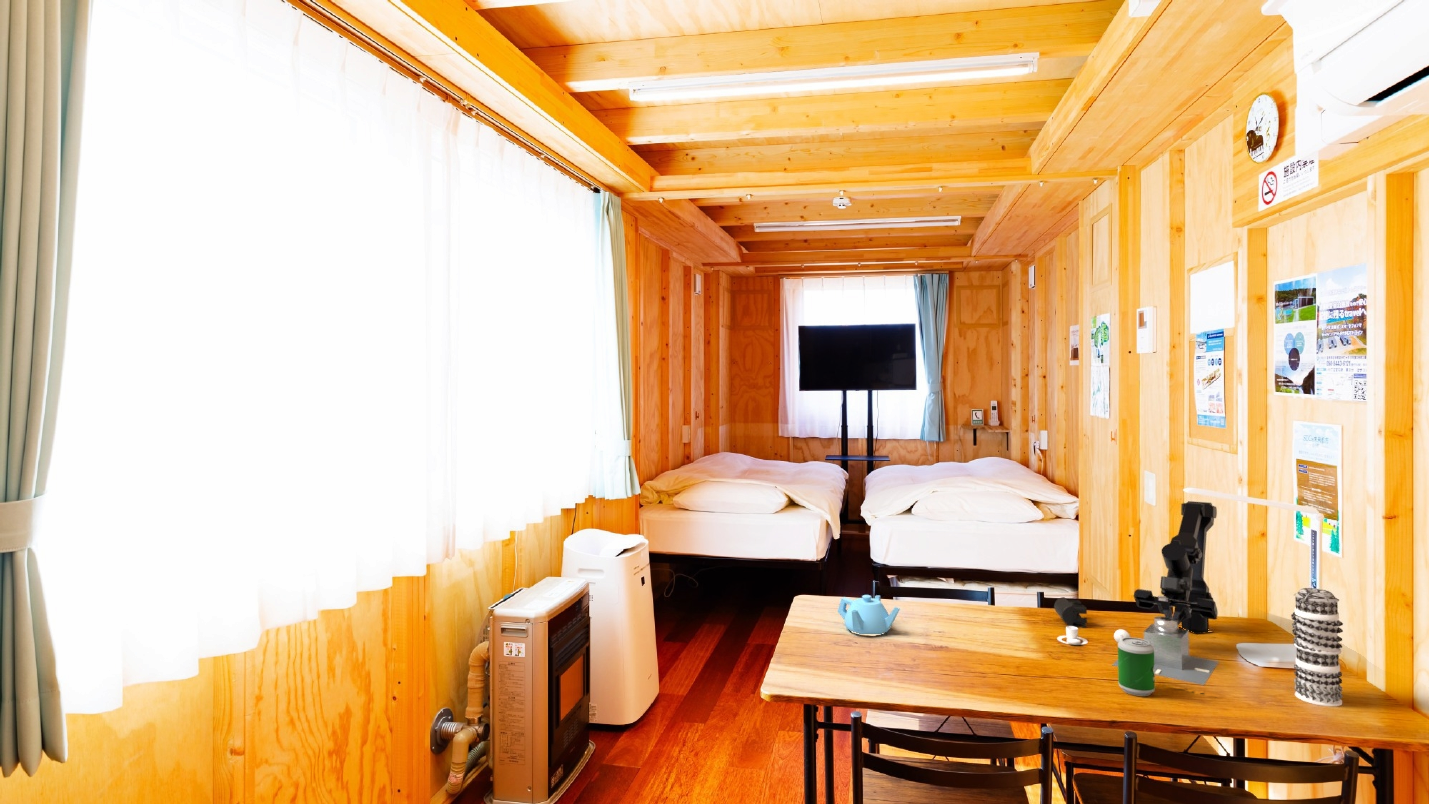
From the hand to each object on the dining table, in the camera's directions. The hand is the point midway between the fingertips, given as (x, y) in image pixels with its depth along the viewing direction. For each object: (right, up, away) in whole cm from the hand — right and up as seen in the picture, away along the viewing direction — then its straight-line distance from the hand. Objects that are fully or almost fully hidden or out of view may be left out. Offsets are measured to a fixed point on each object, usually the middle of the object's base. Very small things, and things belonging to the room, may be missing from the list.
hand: (1170, 631), depth 192 cm
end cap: (-10, -8, +33) cm, 36 cm away
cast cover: (-3, -7, -3) cm, 8 cm away
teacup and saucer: (-20, -9, +17) cm, 28 cm away
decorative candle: (+18, -8, -25) cm, 32 cm away
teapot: (-74, -10, +30) cm, 81 cm away
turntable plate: (-4, -8, -5) cm, 10 cm away
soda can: (-20, -9, -19) cm, 29 cm away
